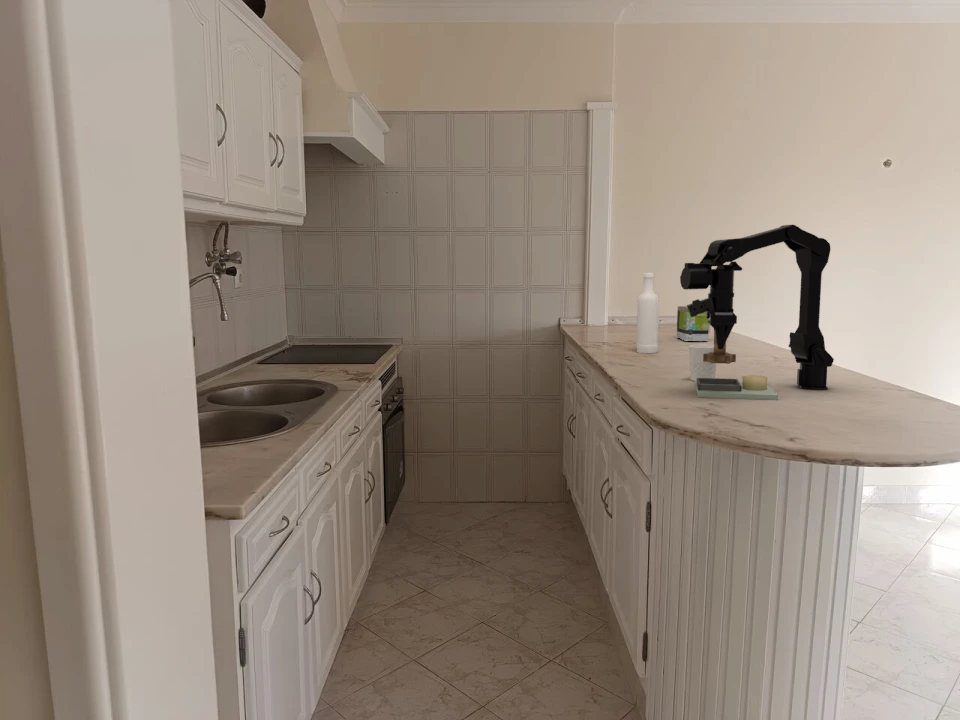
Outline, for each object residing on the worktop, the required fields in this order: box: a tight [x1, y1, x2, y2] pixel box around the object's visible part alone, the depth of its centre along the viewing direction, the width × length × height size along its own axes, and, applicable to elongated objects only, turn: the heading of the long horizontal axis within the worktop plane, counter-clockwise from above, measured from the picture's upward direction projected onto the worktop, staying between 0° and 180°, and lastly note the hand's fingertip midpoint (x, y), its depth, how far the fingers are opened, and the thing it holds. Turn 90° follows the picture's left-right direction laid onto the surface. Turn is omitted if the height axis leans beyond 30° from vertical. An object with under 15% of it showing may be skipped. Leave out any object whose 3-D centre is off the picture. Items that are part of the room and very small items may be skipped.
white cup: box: [688, 344, 717, 382], centre depth 199 cm, size 8×8×10 cm
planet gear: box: [703, 330, 737, 365], centre depth 180 cm, size 8×7×8 cm
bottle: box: [636, 272, 660, 354], centre depth 259 cm, size 8×8×30 cm
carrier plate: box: [694, 374, 779, 401], centre depth 180 cm, size 19×17×4 cm
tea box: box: [676, 305, 710, 342], centre depth 297 cm, size 15×10×15 cm
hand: (719, 348), depth 180 cm, fingers closed on planet gear, 3 cm apart
